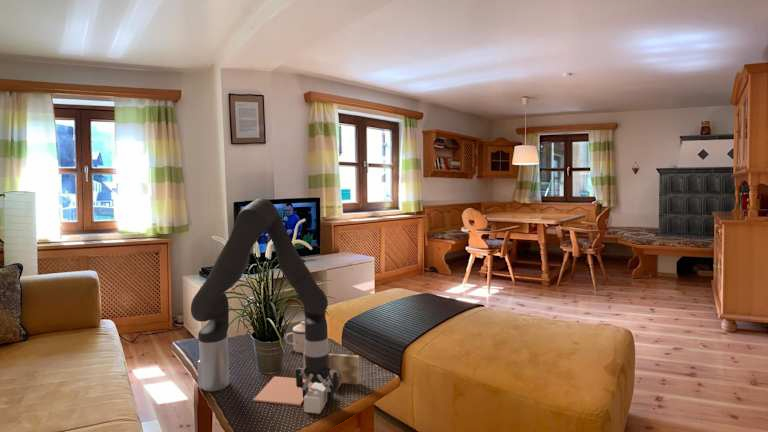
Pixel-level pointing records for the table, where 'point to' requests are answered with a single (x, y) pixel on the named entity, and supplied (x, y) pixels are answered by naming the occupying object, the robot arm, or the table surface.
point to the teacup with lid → (298, 337)
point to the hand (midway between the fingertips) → (318, 400)
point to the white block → (315, 398)
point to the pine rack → (343, 368)
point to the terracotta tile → (282, 392)
